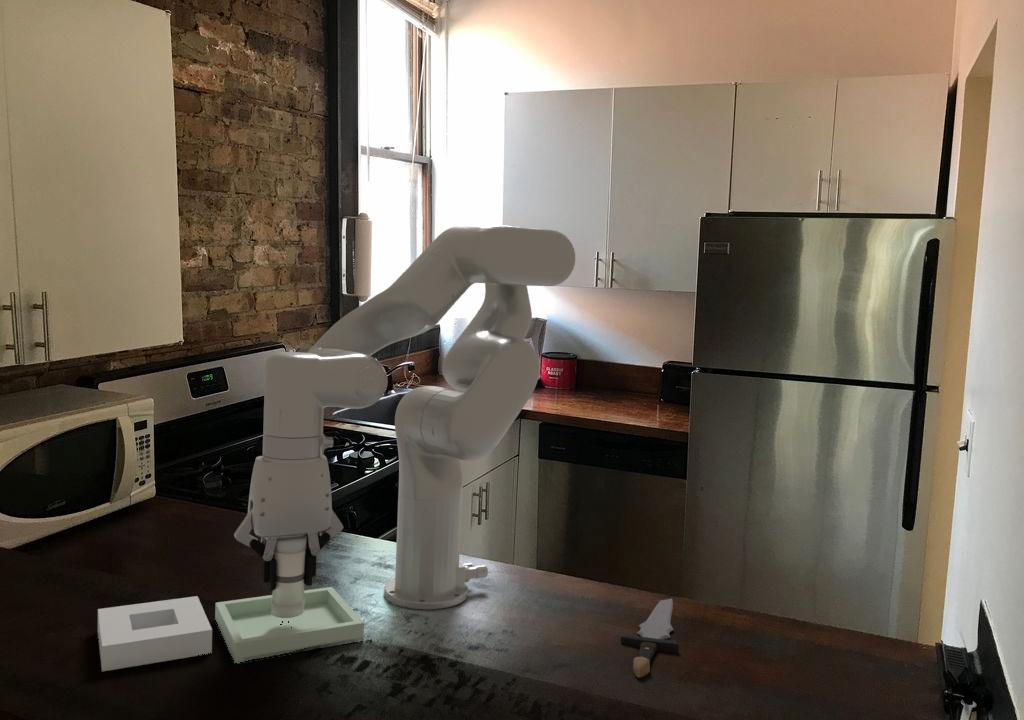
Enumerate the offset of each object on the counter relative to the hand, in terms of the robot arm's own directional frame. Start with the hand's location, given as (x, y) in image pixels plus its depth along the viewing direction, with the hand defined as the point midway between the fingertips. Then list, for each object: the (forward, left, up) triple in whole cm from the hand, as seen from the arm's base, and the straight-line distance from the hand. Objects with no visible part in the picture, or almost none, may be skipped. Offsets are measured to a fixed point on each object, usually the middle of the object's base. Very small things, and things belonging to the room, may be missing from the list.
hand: (288, 583), depth 105 cm
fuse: (0, 0, -4) cm, 4 cm away
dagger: (-47, +19, -7) cm, 51 cm away
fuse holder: (+16, -3, -6) cm, 17 cm away
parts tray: (0, 0, -6) cm, 6 cm away
